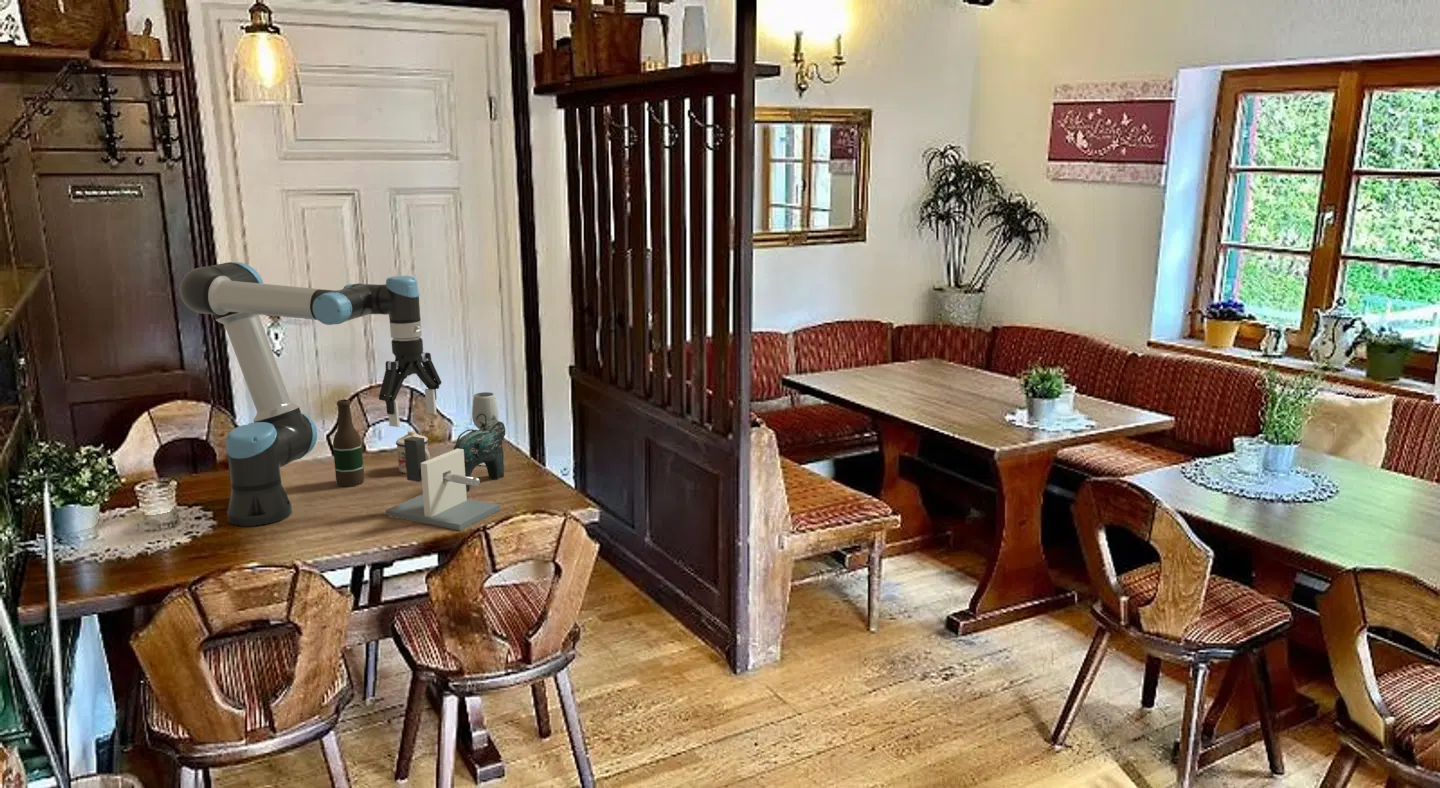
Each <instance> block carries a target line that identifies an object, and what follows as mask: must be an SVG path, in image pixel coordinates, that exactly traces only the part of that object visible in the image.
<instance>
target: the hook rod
mask: <svg viewBox="0 0 1440 788" xmlns="http://www.w3.org/2000/svg"><path fill="white" fill-rule="evenodd" d="M404 445H405V457H406V470H407V473H406V479H407V481H410V482H417V483H420V482H421V483H422V476H421V463H422V462H425V461H426V456H425V442H424V438H420V437H413V436H412V437H409V438H406V439H404ZM443 481H449V482H455V483H460V484H466V485H469V486H472V487H474V488H475V487H476V488H477V487H478V486H479V485H480V484H481V480H480V479H479V477H476V476H473V477H471V476H470V477H467V476H461V475H455V474H449V473H443Z"/></svg>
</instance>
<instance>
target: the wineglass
mask: <svg viewBox="0 0 1440 788" xmlns="http://www.w3.org/2000/svg"><path fill="white" fill-rule="evenodd" d="M497 404H498V403H497V400H496V396H495V393H494V392H489V391H487V392H486V391H485V392H483V391H482V392H476V393H474V394H473V399H472V409H471V417H472V418H471V419H472V423H473V425H474V426H475V427H476V428H477V430H480V427H481V425H482V424H481V423H480V422H479V421H483V422H485V417H484V415H485V416H486V420H491V419H492V416H493V415H494V416H495V418H496V419H497V420H498V421H499V410H498V405H497ZM480 413H482V414H484V415H480V416H479V417H478V419H477V420H476V416H477V415H478V414H480ZM479 465H481V466H480V467H486V465H485V463H481V464H479ZM479 465H478V466H479Z"/></svg>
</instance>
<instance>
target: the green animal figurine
mask: <svg viewBox="0 0 1440 788" xmlns="http://www.w3.org/2000/svg"><path fill="white" fill-rule="evenodd" d="M480 415H484V414H482V413H480V414H478V415H477V416H476V420H477V419H478V417H479V416H480ZM484 417H485V422H483V421H479V422H480V423H481V424H482V425H481V427H480V429H472V428H470V429H469V428H468V429H466V430H464V431H462V432H461V433H460V434H459V435H458V436H457V439H456V443H455V445H454V447H453V450H455V449H457V448H458V449H464V463H465V476H467V477H471V476H472V473H473V471H474V469H475V468H477V466H479V464H481V463H485V465H486V466H485V467H486V471H487V474H488V478H489V479H492V480H499V479H501V478H503V477H505V465H504V455H505V454H504V447H503V440H504V439H505V436H506V426H505V424H504V422H503V421H501V420H499V419H498V420H497V419H496V418H495V416H494V415H493V416H492V419H491V420H486V416H485V415H484ZM468 492H470V485H466V493H468Z"/></svg>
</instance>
